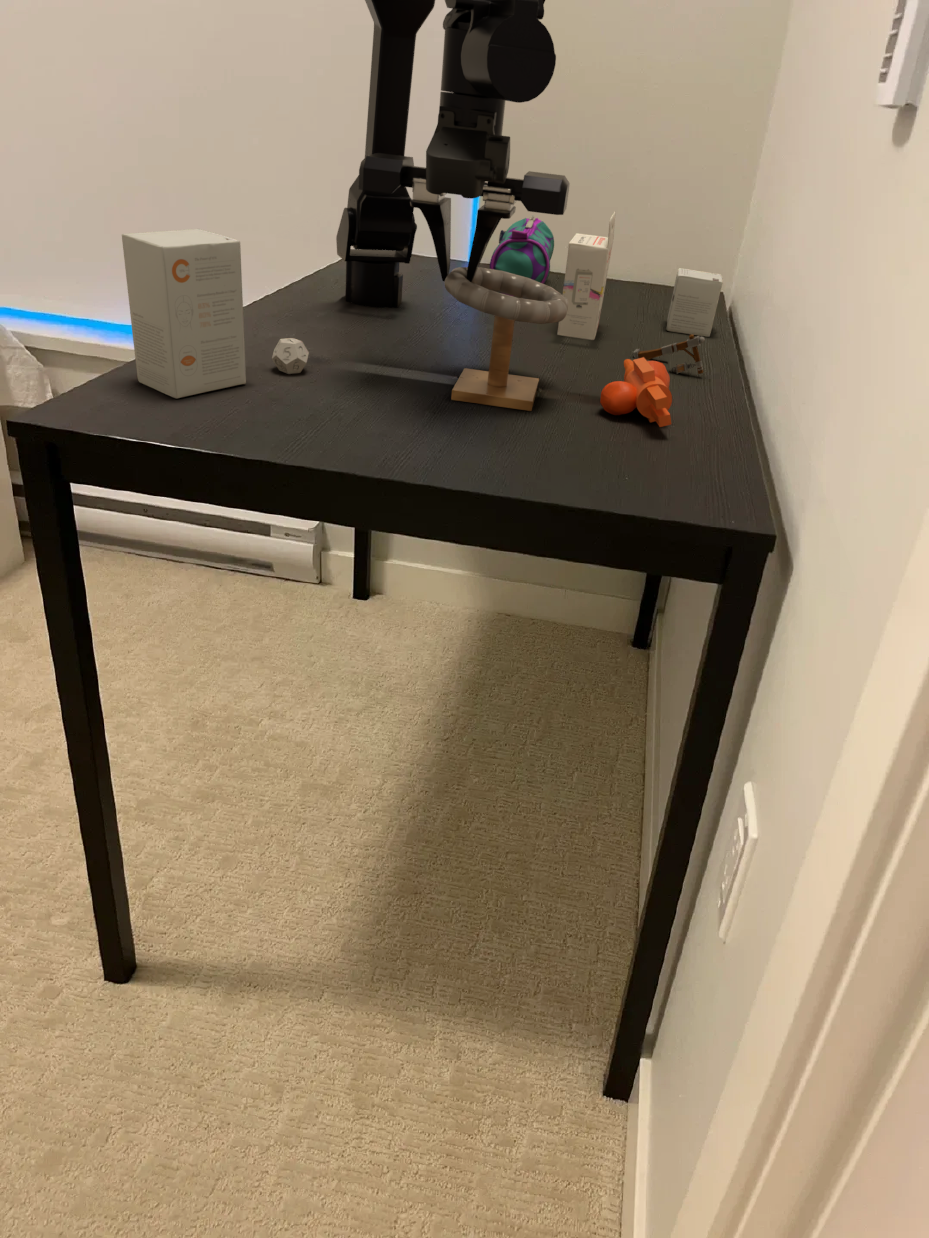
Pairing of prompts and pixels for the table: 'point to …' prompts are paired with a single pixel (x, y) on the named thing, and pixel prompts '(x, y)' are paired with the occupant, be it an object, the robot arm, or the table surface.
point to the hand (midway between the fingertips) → (456, 282)
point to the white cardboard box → (694, 302)
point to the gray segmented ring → (531, 306)
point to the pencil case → (525, 250)
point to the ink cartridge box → (586, 283)
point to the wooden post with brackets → (675, 348)
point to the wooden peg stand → (497, 376)
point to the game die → (290, 355)
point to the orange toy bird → (640, 391)
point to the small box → (186, 310)
